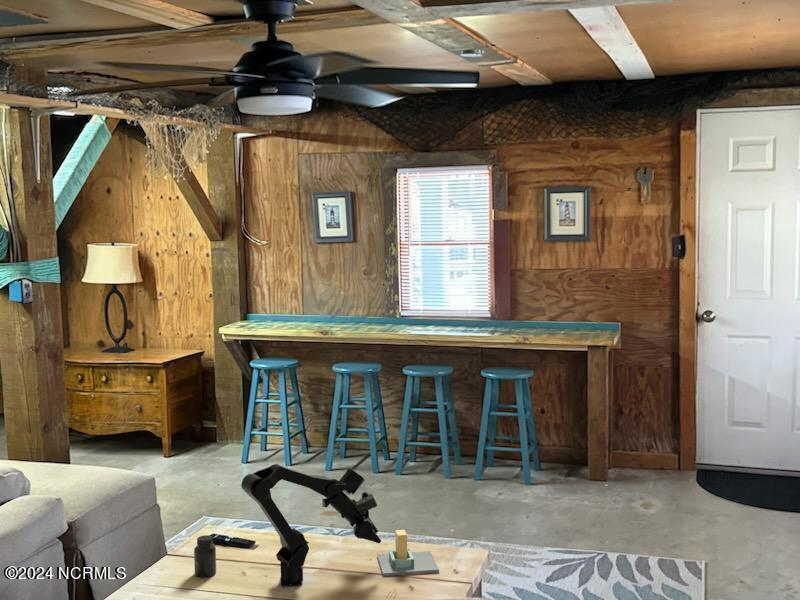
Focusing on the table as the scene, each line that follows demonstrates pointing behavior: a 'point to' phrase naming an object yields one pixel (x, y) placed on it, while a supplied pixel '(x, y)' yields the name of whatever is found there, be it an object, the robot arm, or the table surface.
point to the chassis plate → (407, 563)
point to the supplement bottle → (205, 557)
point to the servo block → (401, 544)
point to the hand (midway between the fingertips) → (378, 537)
